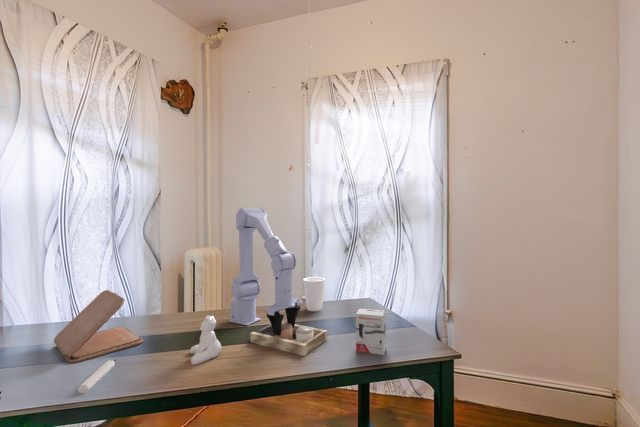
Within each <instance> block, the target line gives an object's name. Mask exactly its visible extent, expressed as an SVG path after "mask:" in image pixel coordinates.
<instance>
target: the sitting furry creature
mask: <svg viewBox="0 0 640 427" xmlns="http://www.w3.org/2000/svg"><path fill="white" fill-rule="evenodd" d="M216 324H217V320H216V318H215V317H214V315H209V314H208V315H206V316H205V317H204V320H203V321H202V322H201V323H200V328H199V330H200V331H201V334H200V336H199V343H198V344H195V345H193V346H192V347H190V352H189V353H190V354H192V355H193V356H191V357H190V364H191V365H192V366H193V365H198V364H201V363H203V362H204V363H205V362H206V361H210V360H211V359H213V358H216V357H217V356H218V355H219V354H220V353H221V350H222V343H221V342H220V341H219V340H218V339H217V336H216V332H215V331H214V329H215V328H216Z"/></svg>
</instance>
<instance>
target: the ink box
mask: <svg viewBox="0 0 640 427" xmlns="http://www.w3.org/2000/svg"><path fill="white" fill-rule="evenodd" d="M386 313H387V312H386V311H385V310H383V309H382V310H381V309H370V308H359V309H358V310H357V311H356V313H355V352H356V353H364V354H365V353H366V354H371V355H379V356H385V353H386V349H387V322H386V320H387V318H386V317H387V314H386Z"/></svg>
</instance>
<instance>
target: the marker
mask: <svg viewBox="0 0 640 427" xmlns="http://www.w3.org/2000/svg"><path fill="white" fill-rule="evenodd" d="M115 364H116V359H113V360H112V359H111V360H109V359H108V360H107V361H106V362H105V363H103V364H102V365H101V366H100V367H99V368H98V369H97V370H96V371H95V372H93V373H92V374H91V375H90V376H89V377H88V378H87V379H86V380H84V381H83V382H82V383H81V384H80V385H79V387H78V389H77V392H78V393H79V394H85V393H88V392H89V391H90V390H91V389H92V388H93V387H94V386H95V385H96V384H97V383H98V382H100V380H101V379H103V378H104V376H106V375H107V373H109V372H110V371H111V370H112V369H113V368H114V367H115Z"/></svg>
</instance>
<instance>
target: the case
mask: <svg viewBox="0 0 640 427" xmlns="http://www.w3.org/2000/svg"><path fill="white" fill-rule="evenodd" d="M124 304H125V298H124V297H122V296H121V295H119V294H118V293H116V292H112V291H110V290H108V289H106V290H103V291H101V292H100V293H99V294H98V295H96V297H95V298H94V299H92V300H91V302H89V303H88V305H87V306H85V308H84V309H82V310H81V311H80V312H79V313H78V314H77V315H76V316H75V317H74V318H73V319H72V320H71V321H70V322H68V324H67V325H65V327H63V328H62V329H61V331H60V332H58V333H57V334H56V335H55V337H54V338H53V343H54V344H55V345H56V348H57V349H58V350H59V352H60V353H61V355H62V356H63V358H65V360H66V361H67V363H69V364H75V363H79V362H83V361H87V360H89V359H92V358H96V357H101V356H103V355H107V354H110V353H114V352H117V351H120V350H124V349H128V348H131V347H134V346H138V345H141V344H143V342H144V339H143V338H142V337H140V336H139V335H137V334H136V333H134V332H133V331H131V330H130V329H129V328H127V327H125V326H116V327H112V328H109V329H105V330H100V328H102V327H103V326H104V325H105V324H106V323H108V321H109V320H110V319H111V318H112V317H113V316H114V315H115V314H116V313H117V312H118V311H119V310H120V309H121V308H122V306H123V305H124ZM99 330H100V331H99Z"/></svg>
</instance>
